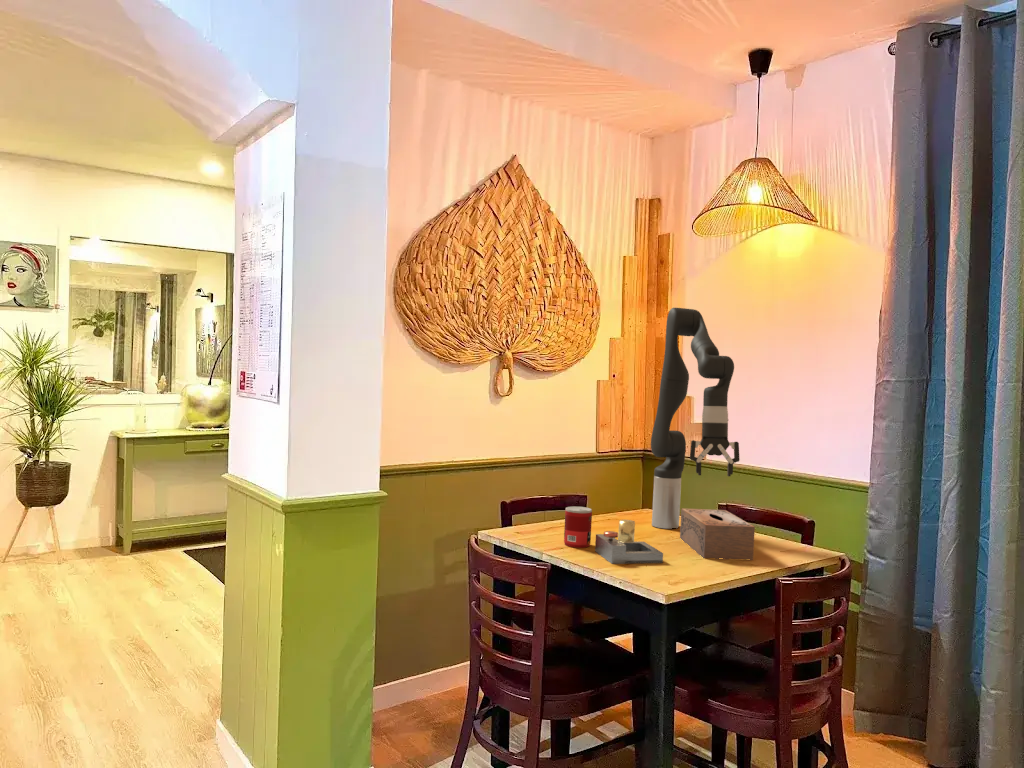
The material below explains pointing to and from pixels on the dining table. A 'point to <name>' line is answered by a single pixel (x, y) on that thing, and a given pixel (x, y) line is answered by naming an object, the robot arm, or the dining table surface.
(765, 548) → the dining table surface
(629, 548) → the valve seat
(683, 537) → the tissue box cover
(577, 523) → the canned food
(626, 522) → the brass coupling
